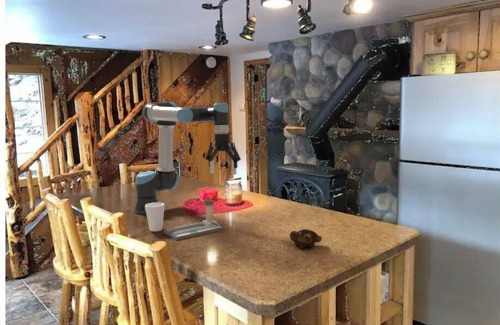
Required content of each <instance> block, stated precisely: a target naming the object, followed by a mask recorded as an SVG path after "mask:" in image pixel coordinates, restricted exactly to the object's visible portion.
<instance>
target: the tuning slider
mask: <svg viewBox="0 0 500 325" xmlns="http://www.w3.org/2000/svg"><path fill="white" fill-rule="evenodd" d="M214 204H215V200H214V199H204V200H203V205H205V219H204V220H202V222H203V225H205V226H208V225H213V224H214V225H216V226H218V225H217V224H218V221H217V220H215V219H214V209H213V208H214Z"/></svg>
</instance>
